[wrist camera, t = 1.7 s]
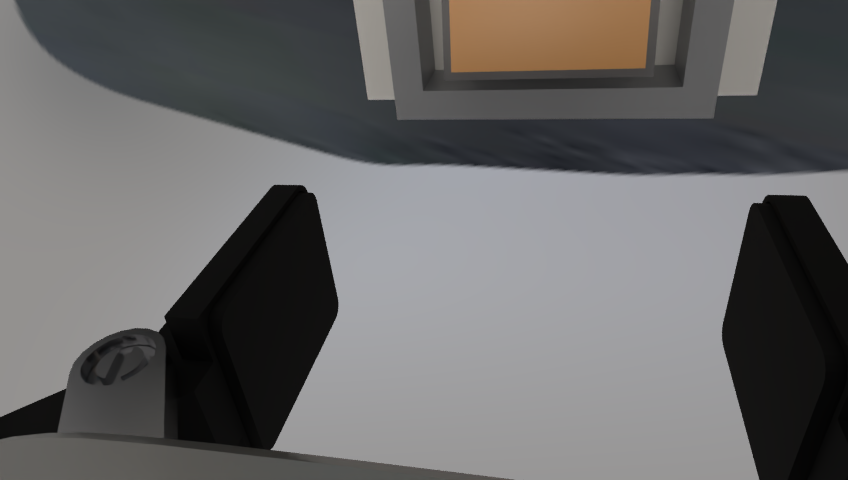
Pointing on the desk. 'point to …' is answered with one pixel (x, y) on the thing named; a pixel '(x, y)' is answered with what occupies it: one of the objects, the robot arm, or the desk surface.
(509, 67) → the rocker
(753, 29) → the switch panel
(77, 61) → the desk surface
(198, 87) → the desk surface
